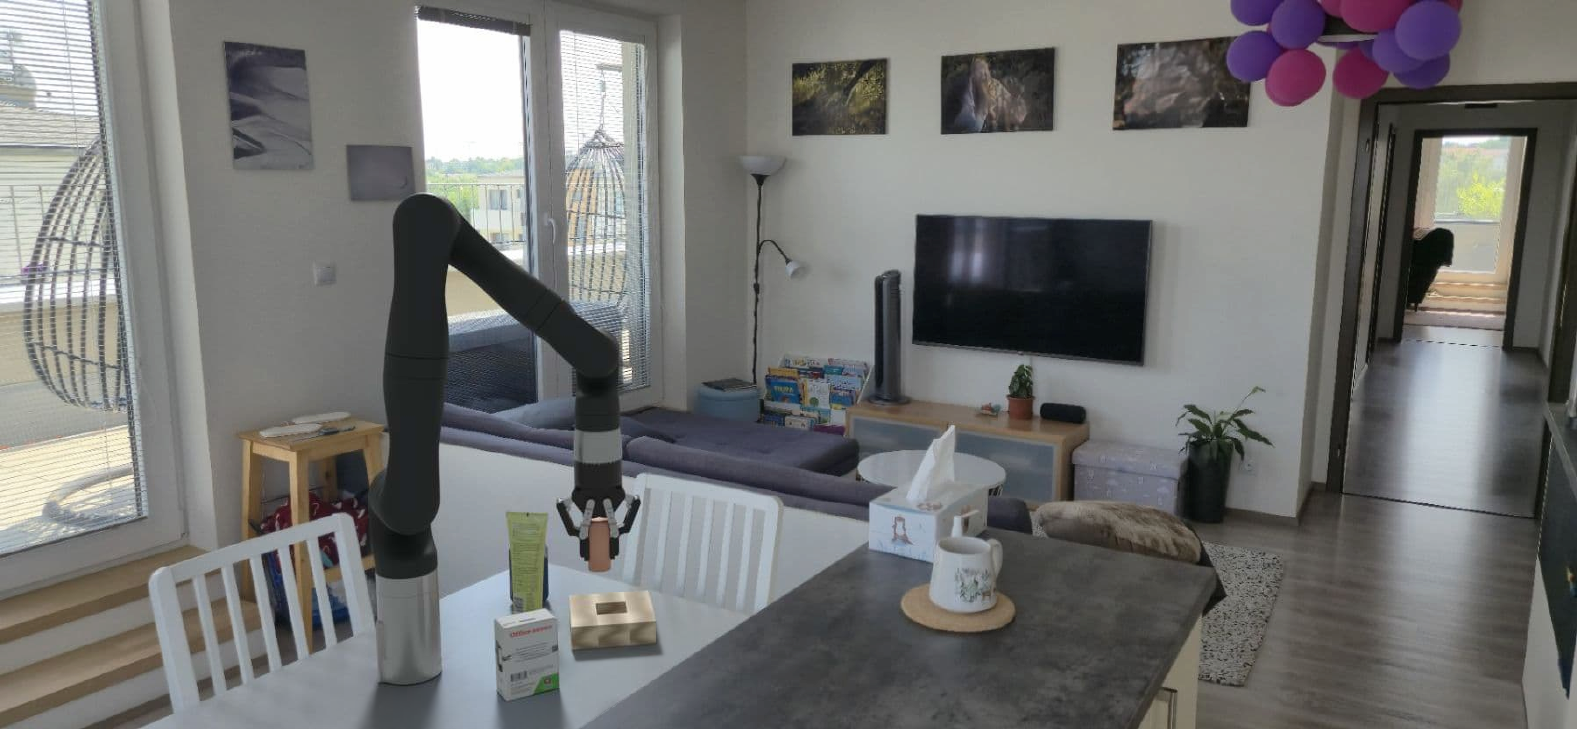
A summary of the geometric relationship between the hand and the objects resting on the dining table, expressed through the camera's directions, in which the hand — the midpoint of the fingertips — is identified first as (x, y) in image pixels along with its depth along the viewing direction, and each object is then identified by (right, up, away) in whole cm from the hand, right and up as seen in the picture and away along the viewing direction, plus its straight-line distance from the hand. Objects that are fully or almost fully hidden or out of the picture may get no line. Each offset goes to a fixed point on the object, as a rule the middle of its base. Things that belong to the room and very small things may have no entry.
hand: (599, 558), depth 179 cm
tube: (-16, -14, +19) cm, 28 cm away
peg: (0, -2, 0) cm, 2 cm away
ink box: (-10, -19, -8) cm, 23 cm away
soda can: (-17, -13, +26) cm, 33 cm away
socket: (0, -15, +14) cm, 21 cm away
